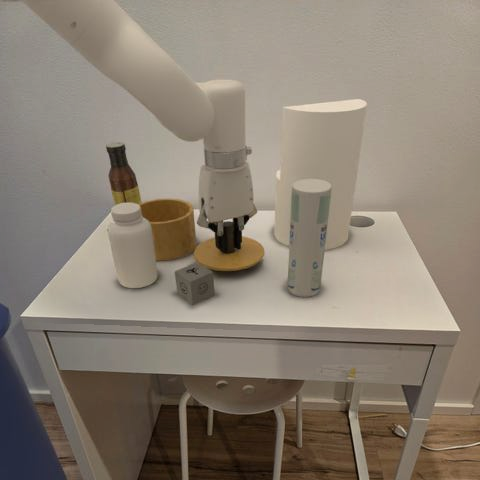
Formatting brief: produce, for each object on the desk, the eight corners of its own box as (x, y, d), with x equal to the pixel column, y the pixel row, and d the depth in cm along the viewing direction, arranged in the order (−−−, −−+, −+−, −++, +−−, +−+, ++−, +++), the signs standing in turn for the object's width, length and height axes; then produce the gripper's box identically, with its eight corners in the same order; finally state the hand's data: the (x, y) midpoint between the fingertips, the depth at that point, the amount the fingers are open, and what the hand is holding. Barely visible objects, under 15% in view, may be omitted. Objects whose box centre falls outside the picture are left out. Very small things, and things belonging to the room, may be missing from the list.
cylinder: (363, 241, 99) (385, 106, 82) (295, 256, 93) (305, 115, 77) (323, 214, 111) (335, 92, 95) (262, 226, 106) (263, 99, 90)
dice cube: (198, 284, 85) (196, 262, 82) (214, 295, 82) (212, 272, 79) (177, 294, 83) (174, 271, 80) (192, 305, 79) (190, 281, 76)
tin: (146, 266, 91) (140, 228, 86) (128, 240, 101) (122, 205, 96) (205, 251, 96) (203, 214, 91) (183, 228, 106) (179, 194, 101)
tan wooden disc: (212, 280, 83) (209, 247, 79) (183, 250, 94) (180, 218, 89) (277, 262, 89) (278, 229, 84) (243, 234, 99) (243, 204, 95)
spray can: (319, 299, 80) (330, 193, 68) (284, 295, 82) (289, 190, 70) (322, 281, 85) (333, 179, 73) (289, 277, 87) (294, 177, 75)
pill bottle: (137, 294, 83) (123, 220, 74) (109, 281, 87) (93, 209, 78) (166, 276, 88) (157, 205, 79) (139, 265, 92) (127, 196, 83)
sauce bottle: (147, 222, 109) (134, 139, 98) (144, 233, 104) (130, 147, 93) (121, 223, 109) (104, 140, 97) (117, 234, 104) (99, 148, 92)
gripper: (254, 146, 85) (254, 233, 96) (176, 159, 79) (185, 250, 90) (274, 155, 79) (272, 246, 90) (191, 170, 74) (200, 266, 85)
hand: (229, 247), depth 90 cm, fingers closed on tan wooden disc, 2 cm apart
